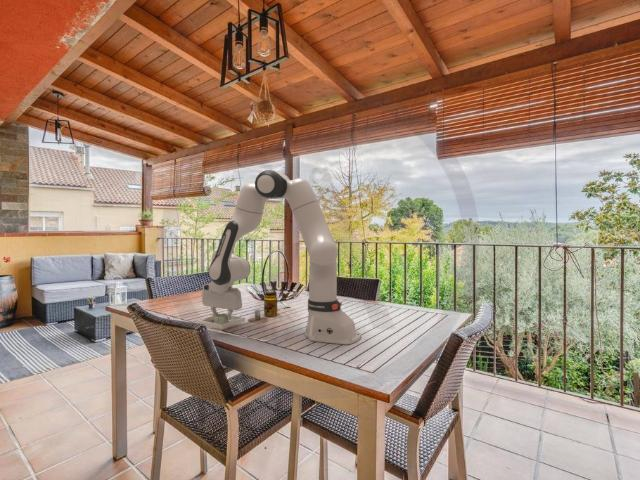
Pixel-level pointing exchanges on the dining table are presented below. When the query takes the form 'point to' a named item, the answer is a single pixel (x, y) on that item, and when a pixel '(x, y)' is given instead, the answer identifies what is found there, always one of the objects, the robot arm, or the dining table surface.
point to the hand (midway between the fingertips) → (221, 317)
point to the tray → (221, 326)
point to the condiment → (270, 304)
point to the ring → (220, 318)
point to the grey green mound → (257, 318)
